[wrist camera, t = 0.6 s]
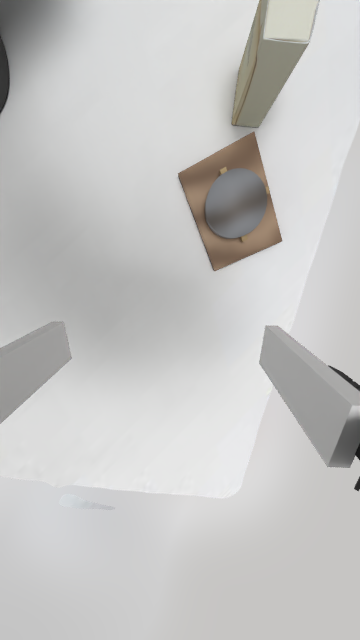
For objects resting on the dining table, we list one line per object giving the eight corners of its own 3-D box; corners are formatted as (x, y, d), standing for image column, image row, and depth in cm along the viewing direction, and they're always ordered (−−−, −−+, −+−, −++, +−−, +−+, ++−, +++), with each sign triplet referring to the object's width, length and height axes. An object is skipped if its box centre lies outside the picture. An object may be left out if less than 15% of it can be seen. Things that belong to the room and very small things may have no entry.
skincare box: (238, 69, 26) (279, -81, 14) (270, 71, 26) (337, -77, 14) (230, 127, 28) (260, 38, 16) (260, 130, 28) (311, 41, 16)
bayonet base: (178, 176, 30) (177, 166, 27) (251, 136, 28) (260, 119, 25) (214, 270, 35) (217, 272, 31) (279, 241, 33) (289, 239, 29)
